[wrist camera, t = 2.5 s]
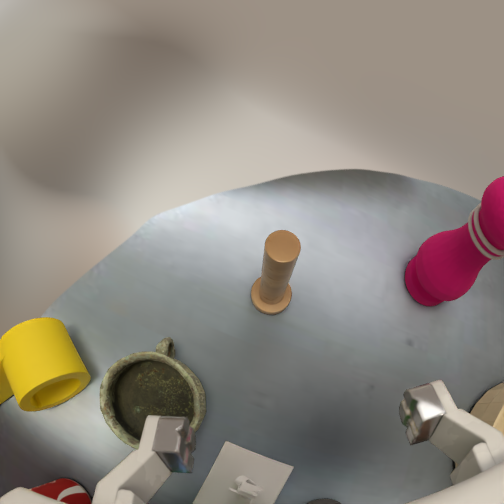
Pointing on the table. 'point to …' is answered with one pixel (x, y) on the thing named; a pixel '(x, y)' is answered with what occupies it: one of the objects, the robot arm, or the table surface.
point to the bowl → (491, 408)
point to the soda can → (64, 491)
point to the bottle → (323, 501)
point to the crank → (40, 365)
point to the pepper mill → (459, 252)
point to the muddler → (276, 273)
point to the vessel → (150, 392)
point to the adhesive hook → (243, 478)
